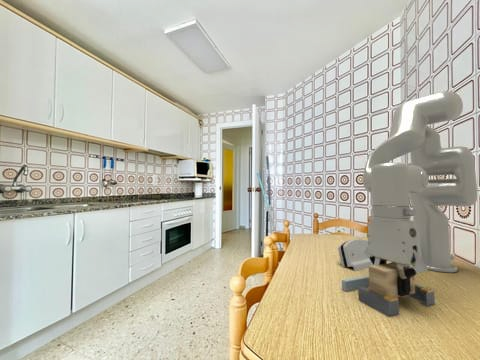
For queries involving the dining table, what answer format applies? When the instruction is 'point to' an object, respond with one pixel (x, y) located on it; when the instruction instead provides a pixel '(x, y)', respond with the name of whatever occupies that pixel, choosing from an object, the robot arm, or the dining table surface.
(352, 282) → the plank
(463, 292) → the dining table surface
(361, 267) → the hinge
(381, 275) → the brown box
